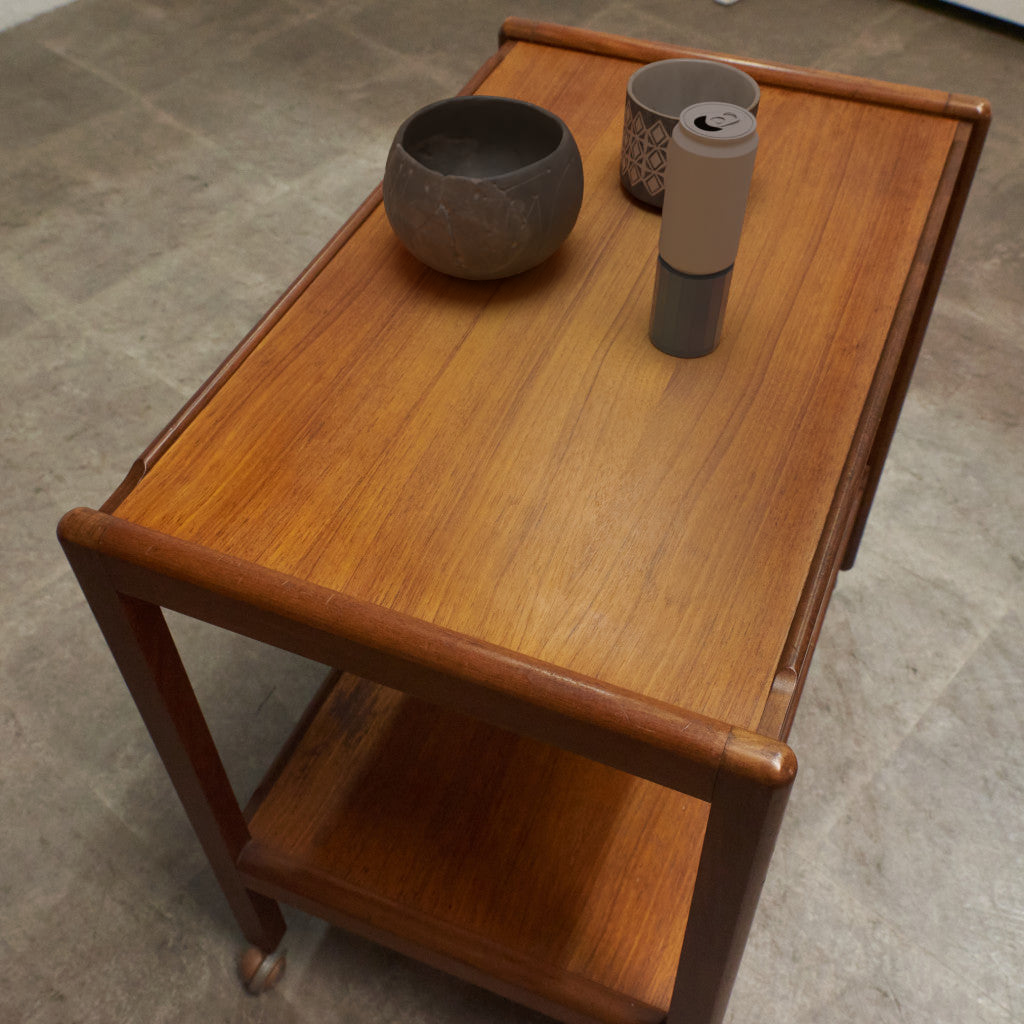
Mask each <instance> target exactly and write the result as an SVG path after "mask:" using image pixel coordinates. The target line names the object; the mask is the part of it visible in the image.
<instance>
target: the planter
mask: <svg viewBox="0 0 1024 1024" xmlns="http://www.w3.org/2000/svg"><path fill="white" fill-rule="evenodd" d="M761 92H762V91H761V88H760V86H759V84H758V83H757V81H756V80H755V79H754V78H753V77H752V76H751V75H749V74H748V73H746V72H745V71H743V70H742V69H739V68H738V67H735V66H733V65H731V64H727V63H724V62H720V61H716V60H711V59H704V58H695V57H694V58H693V57H679V58H668V59H662V60H658V61H653V62H650V63H648V64H646V65H643V66H641V67H639V68H638V69H636V70H635V71H634V72H633V73H632V74H631V75H630V76H629V78H628V79H627V82H626V91H625V101H624V102H625V103H624V112H623V113H624V115H623V127H622V138H621V149H620V161H619V162H620V163H619V172H618V173H619V179H620V181H621V184H622V186H623V187H624V188H625V190H626V191H627V192H628V193H629V194H631V195H632V196H633V197H635V198H636V199H638V200H639V201H641V202H643V203H645V204H648V205H650V206H654V207H656V208H661V209H663V204H664V196H665V188H666V180H667V172H668V164H669V156H670V148H671V140H672V132H673V129H674V127H675V126H676V125H677V124H678V122H679V118H680V114H681V112H682V111H683V110H684V109H685V108H687V107H689V106H691V105H694V104H697V103H702V102H723V103H729V104H733V105H737V106H740V107H742V108H744V109H746V110H748V111H749V112H750V113H752V114H753V115H754V117H755V118H756V119H757V117H758V112H759V107H760V106H759V105H760V101H761V96H762V93H761Z"/></svg>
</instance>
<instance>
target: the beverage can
mask: <svg viewBox="0 0 1024 1024" xmlns="http://www.w3.org/2000/svg"><path fill="white" fill-rule="evenodd" d="M757 126H758V122H757V118H755V117H754V115H753V114H752V113H750V112H749V111H748V110H746V109H744V108H742V107H740V106H737V105H733V104H729V103H723V102H702V103H697V104H694V105H691V106H689V107H687V108H685V109H684V110H683V111H682V112H681V114H680V118H679V122H678V124H677V125H676V126H675V127H674V129H673V132H672V140H671V148H670V156H669V164H668V172H667V180H666V188H665V196H664V204H663V208H662V213H661V221H660V229H659V235H658V236H659V237H658V246H657V247H658V253H660V255H661V257H662V258H663V259H664V260H665V261H666V262H667V263H668V264H669V265H670V266H671V267H672V268H673V269H675V270H677V271H679V272H681V273H685V274H689V275H709V274H713V273H716V272H718V271H721V270H723V269H726V268H727V267H729V266H730V265H731V264H732V263H733V262H734V261H735V262H736V259H737V257H738V253H739V248H740V242H741V238H742V232H743V226H744V221H745V216H746V212H747V206H748V200H749V196H750V190H751V185H752V179H753V174H754V170H755V165H756V158H757V155H758V154H757V153H758V148H759V144H760V143H759V142H760V136H759V134H758V131H757Z"/></svg>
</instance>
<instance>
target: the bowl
mask: <svg viewBox="0 0 1024 1024" xmlns="http://www.w3.org/2000/svg"><path fill="white" fill-rule="evenodd" d="M584 190H585V175H584V166H583V160H582V156H581V153H580V150H579V147H578V144H577V142H576V140H575V137H574V135H573V133H572V131H571V129H570V128H569V127H568V125H567V124H566V123H565V121H564V120H563V119H562V118H561V117H559V116H558V115H557V114H555V113H553V112H551V111H550V110H548V109H546V108H544V107H542V106H539V105H537V104H534V103H532V102H528V101H525V100H522V99H516V98H510V97H505V96H498V95H487V94H486V95H485V94H469V95H460V96H454V97H448V98H444V99H440V100H437V101H434V102H431V103H428V104H427V105H425V106H423V107H421V108H419V109H417V110H416V111H415V112H413V113H412V114H411V115H409V117H407V118H406V119H405V120H404V121H403V122H402V123H401V124H400V126H399V127H398V129H397V130H396V132H395V135H394V137H393V140H392V142H391V144H390V148H389V150H388V154H387V158H386V162H385V167H384V173H383V181H382V200H383V207H384V211H385V214H386V218H387V220H388V224H389V226H390V227H391V230H392V232H393V233H394V235H395V236H396V238H397V239H398V240H399V242H400V243H401V244H402V245H403V246H404V248H405V249H406V250H407V251H408V252H409V253H410V254H411V255H413V257H415V258H416V259H417V260H419V261H420V262H421V263H423V264H424V265H425V266H428V267H429V268H430V269H433V270H435V271H436V272H439V273H442V274H445V275H447V276H451V277H455V278H458V279H465V280H470V281H489V280H498V279H504V278H509V277H512V276H515V275H518V274H520V273H523V272H527V271H528V270H530V269H533V268H534V267H537V266H539V265H540V264H542V263H543V262H544V261H546V260H547V259H548V258H550V257H551V256H552V255H553V254H554V253H555V252H556V251H557V250H559V248H560V247H561V246H562V245H563V244H564V243H565V242H566V240H568V237H570V234H571V233H572V232H573V229H574V227H575V225H576V223H577V221H578V218H579V215H580V212H581V210H582V209H581V208H582V205H583V199H584V192H585V191H584Z"/></svg>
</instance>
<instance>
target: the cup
mask: <svg viewBox="0 0 1024 1024" xmlns="http://www.w3.org/2000/svg"><path fill="white" fill-rule="evenodd" d="M735 263H736V260H735V261H734V262H733V263H732V264H731V265H730V266H729V267H727V268H726V269H723V270H721V271H718V272H716V273H713V274H709V275H689V274H685V273H681V272H679V271H677V270H675V269H673V268H672V267H671V266H670V265H669V264H668V263H667V262H666V261H665V260H664V259H663V258H662V257H661V255H660V253H659V252H658V254H657V258H656V265H655V266H656V267H655V275H654V283H653V290H652V298H651V306H650V307H651V308H650V314H649V315H650V316H649V323H648V324H649V325H648V336H649V340H650V342H651V343H652V345H653V346H654V347H655V348H656V349H658V350H659V351H661V352H662V353H665V354H666V355H669V356H672V357H675V358H682V359H696V358H700V357H701V358H702V357H704V356H707V355H709V354H711V353H713V352H714V351H715V350H716V349H717V348H718V347H719V345H720V343H721V339H722V333H723V329H724V323H725V319H726V318H725V317H726V312H727V306H728V301H729V296H730V290H731V285H732V280H733V274H734V270H735V265H736V264H735Z"/></svg>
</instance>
